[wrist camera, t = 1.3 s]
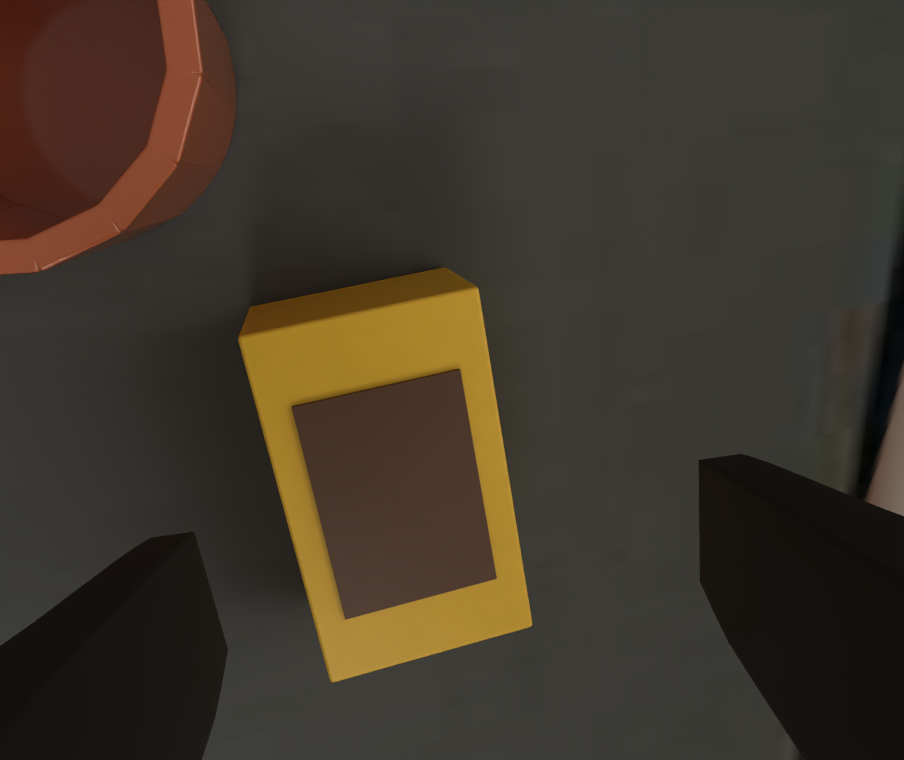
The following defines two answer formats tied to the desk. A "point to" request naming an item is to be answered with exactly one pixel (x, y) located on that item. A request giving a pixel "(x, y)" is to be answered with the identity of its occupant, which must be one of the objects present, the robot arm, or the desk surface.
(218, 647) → the robot arm
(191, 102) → the terracotta cup
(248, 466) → the desk surface
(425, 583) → the coffee packet
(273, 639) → the desk surface
